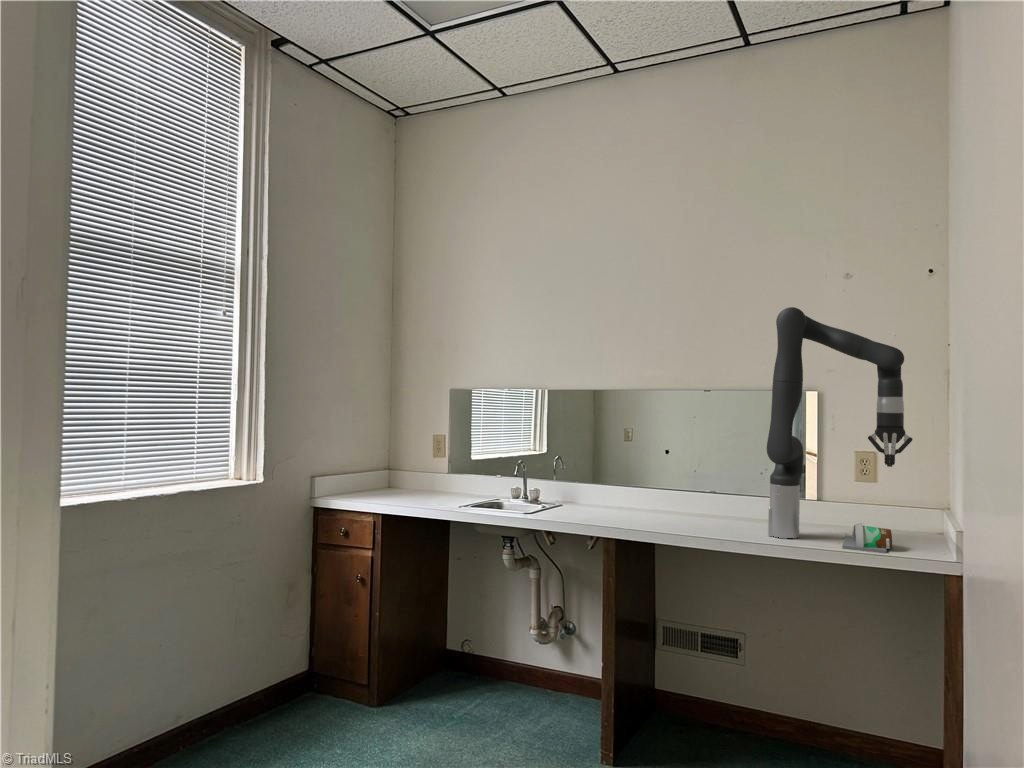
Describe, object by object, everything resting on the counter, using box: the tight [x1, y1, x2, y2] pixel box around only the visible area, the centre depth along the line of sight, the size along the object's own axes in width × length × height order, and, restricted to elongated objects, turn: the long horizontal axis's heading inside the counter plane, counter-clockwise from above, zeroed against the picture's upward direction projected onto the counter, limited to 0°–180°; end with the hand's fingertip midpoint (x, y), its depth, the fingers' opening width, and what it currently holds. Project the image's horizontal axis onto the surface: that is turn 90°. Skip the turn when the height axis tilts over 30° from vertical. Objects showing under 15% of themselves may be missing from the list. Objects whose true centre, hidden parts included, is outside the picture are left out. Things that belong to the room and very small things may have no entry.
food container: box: [852, 522, 893, 550], centre depth 220 cm, size 12×6×10 cm
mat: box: [841, 535, 887, 554], centre depth 222 cm, size 12×16×1 cm
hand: (889, 466), depth 222 cm, fingers closed
